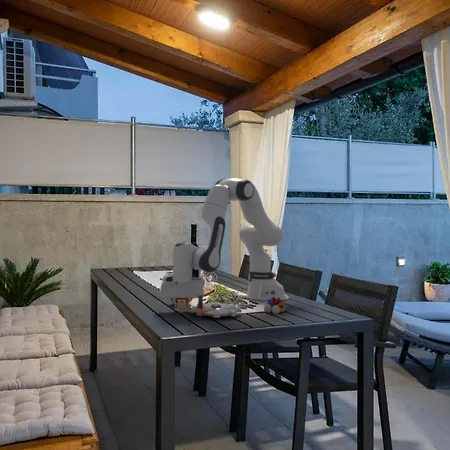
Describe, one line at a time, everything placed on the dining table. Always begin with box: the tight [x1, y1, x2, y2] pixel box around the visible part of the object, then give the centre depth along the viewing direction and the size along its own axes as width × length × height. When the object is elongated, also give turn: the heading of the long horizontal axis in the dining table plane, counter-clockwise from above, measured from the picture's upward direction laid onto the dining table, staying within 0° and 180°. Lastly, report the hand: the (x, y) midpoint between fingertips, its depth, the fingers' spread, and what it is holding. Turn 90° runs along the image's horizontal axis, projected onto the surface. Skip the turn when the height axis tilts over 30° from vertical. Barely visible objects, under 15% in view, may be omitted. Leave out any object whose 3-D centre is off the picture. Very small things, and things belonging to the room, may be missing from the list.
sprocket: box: [191, 295, 242, 318], centre depth 212 cm, size 22×22×7 cm
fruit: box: [170, 298, 193, 304], centre depth 233 cm, size 11×10×8 cm
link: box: [177, 299, 187, 313], centre depth 219 cm, size 4×6×5 cm, turn 6°
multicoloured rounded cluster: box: [263, 297, 286, 315], centre depth 221 cm, size 8×10×7 cm
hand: (181, 307), depth 219 cm, fingers closed on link, 3 cm apart
